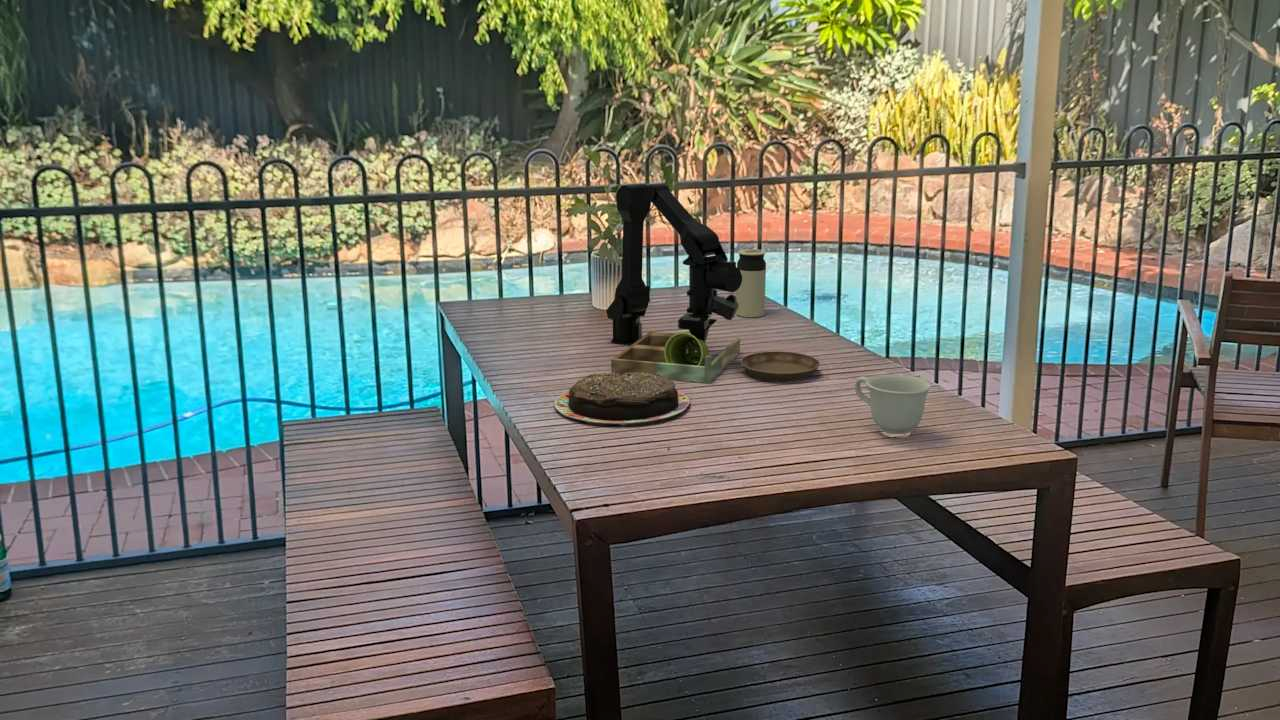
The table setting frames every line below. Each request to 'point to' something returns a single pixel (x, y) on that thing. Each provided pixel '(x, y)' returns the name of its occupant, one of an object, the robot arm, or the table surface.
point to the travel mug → (751, 283)
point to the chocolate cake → (622, 399)
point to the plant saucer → (780, 366)
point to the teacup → (895, 401)
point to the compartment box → (651, 358)
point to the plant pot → (677, 350)
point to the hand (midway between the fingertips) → (701, 350)
